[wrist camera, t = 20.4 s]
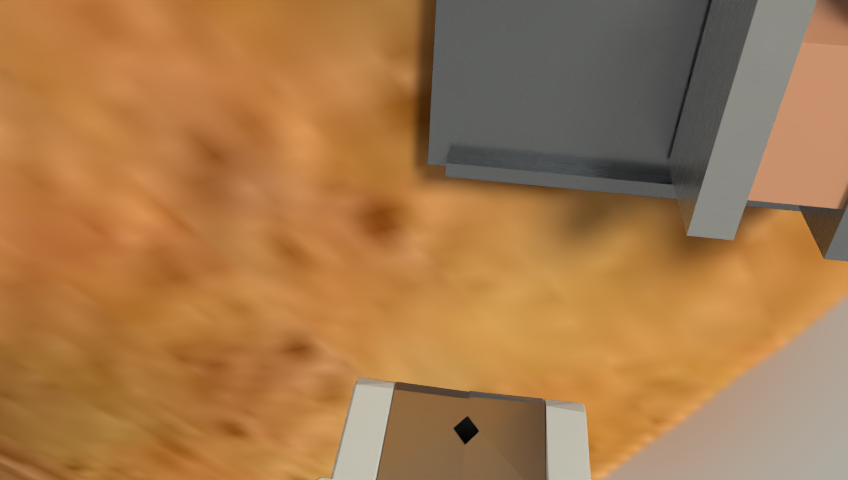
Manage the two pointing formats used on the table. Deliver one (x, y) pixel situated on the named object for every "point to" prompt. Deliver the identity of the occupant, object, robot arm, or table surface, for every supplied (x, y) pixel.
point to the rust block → (812, 120)
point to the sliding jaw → (733, 108)
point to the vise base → (574, 97)
